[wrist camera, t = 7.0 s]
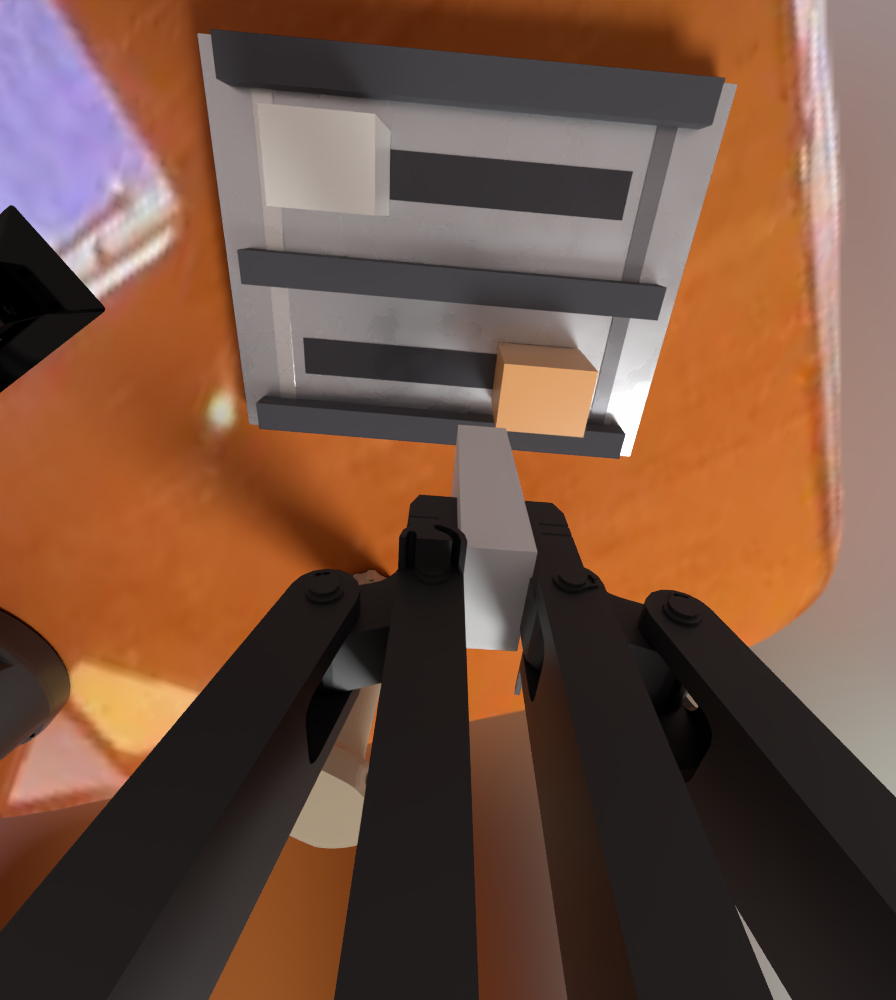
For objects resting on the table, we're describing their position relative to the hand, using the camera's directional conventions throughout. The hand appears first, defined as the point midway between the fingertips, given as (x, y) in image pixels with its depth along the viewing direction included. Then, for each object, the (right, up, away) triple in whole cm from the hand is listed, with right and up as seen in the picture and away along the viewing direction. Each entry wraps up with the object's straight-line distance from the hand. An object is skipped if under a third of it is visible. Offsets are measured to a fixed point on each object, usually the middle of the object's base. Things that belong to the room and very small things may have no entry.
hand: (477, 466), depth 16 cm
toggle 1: (-5, +13, +5) cm, 15 cm away
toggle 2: (+3, +5, +9) cm, 11 cm away
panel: (-1, +10, +9) cm, 13 cm away
